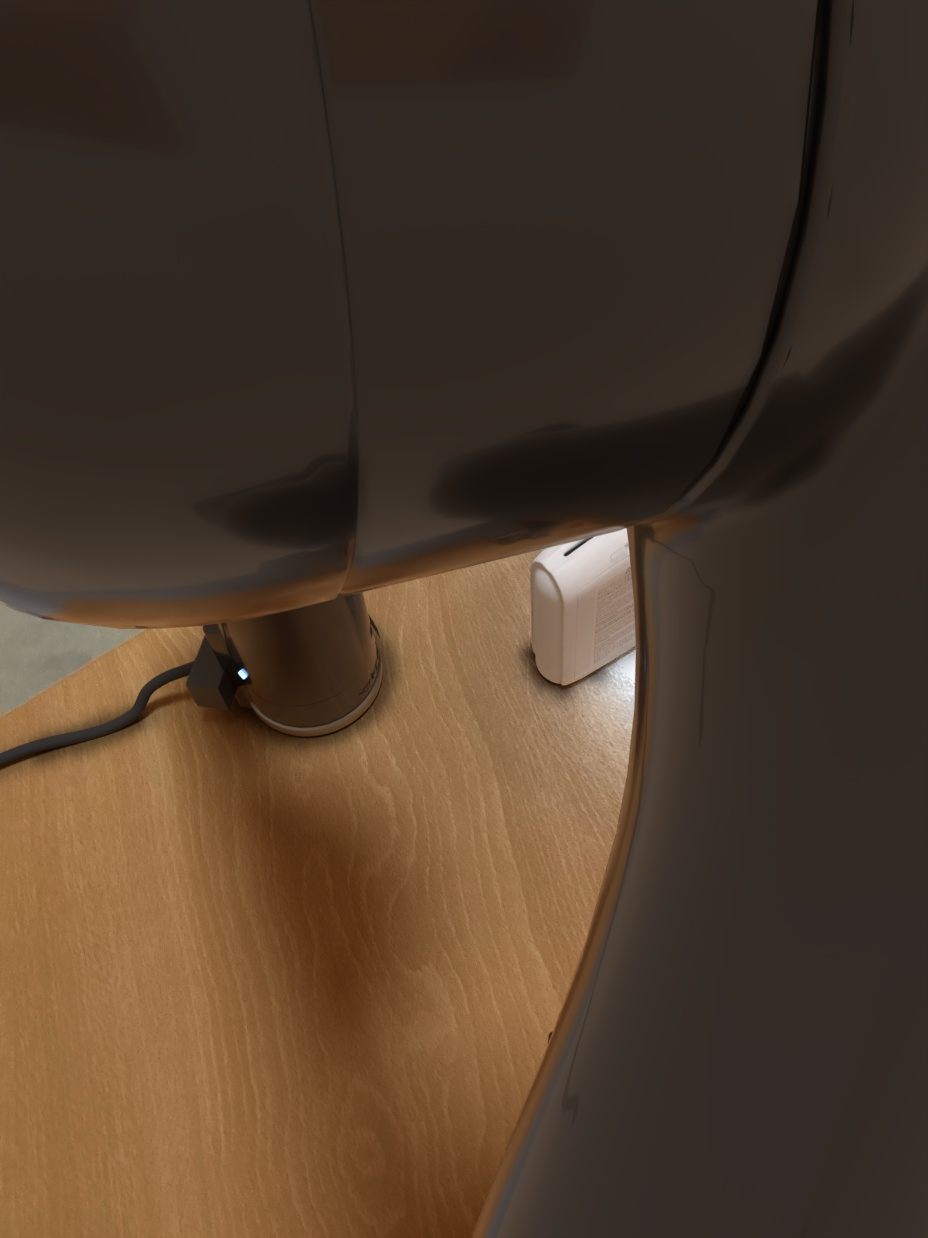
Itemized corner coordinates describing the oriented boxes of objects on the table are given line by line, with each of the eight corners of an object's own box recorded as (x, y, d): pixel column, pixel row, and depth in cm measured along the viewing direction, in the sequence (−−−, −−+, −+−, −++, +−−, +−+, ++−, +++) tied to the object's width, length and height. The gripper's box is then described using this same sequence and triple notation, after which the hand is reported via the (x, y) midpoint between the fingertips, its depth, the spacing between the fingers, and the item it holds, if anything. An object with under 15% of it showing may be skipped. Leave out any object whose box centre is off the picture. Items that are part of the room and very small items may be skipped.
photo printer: (640, 583, 76) (652, 463, 65) (679, 623, 73) (698, 505, 63) (522, 654, 73) (516, 541, 63) (559, 698, 71) (559, 588, 61)
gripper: (985, 1252, 32) (881, 980, 48) (518, 1155, 34) (565, 927, 50) (943, 1458, 33) (855, 1128, 49) (497, 1351, 36) (549, 1069, 51)
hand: (709, 1026), depth 49 cm, fingers open, 8 cm apart
